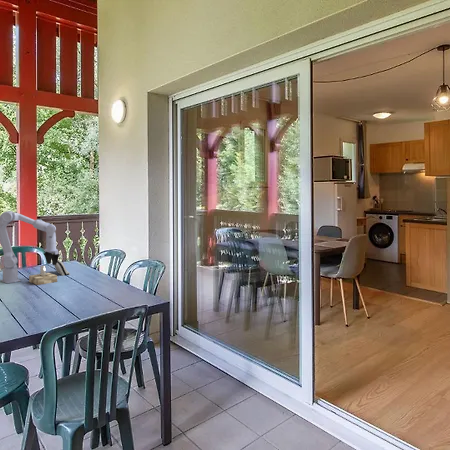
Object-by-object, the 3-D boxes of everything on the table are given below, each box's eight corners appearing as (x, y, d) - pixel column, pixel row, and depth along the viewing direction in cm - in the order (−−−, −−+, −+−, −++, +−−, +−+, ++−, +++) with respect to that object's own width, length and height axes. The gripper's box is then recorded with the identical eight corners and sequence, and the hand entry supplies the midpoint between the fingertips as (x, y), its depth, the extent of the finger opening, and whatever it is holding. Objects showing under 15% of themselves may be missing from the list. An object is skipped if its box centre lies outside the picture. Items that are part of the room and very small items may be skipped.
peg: (39, 281, 236) (39, 266, 235) (44, 281, 238) (44, 265, 237) (42, 282, 234) (41, 266, 233) (46, 281, 236) (46, 266, 235)
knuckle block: (29, 281, 235) (29, 275, 235) (48, 278, 244) (48, 272, 244) (37, 285, 228) (37, 278, 227) (57, 281, 237) (57, 275, 236)
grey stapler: (70, 274, 257) (65, 261, 254) (63, 278, 254) (58, 264, 251) (64, 270, 270) (58, 258, 267) (57, 273, 267) (52, 261, 264)
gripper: (62, 243, 240) (63, 264, 241) (52, 241, 249) (52, 261, 250) (51, 244, 234) (52, 266, 235) (41, 242, 244) (41, 263, 245)
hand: (51, 264), depth 242 cm, fingers open, 7 cm apart
